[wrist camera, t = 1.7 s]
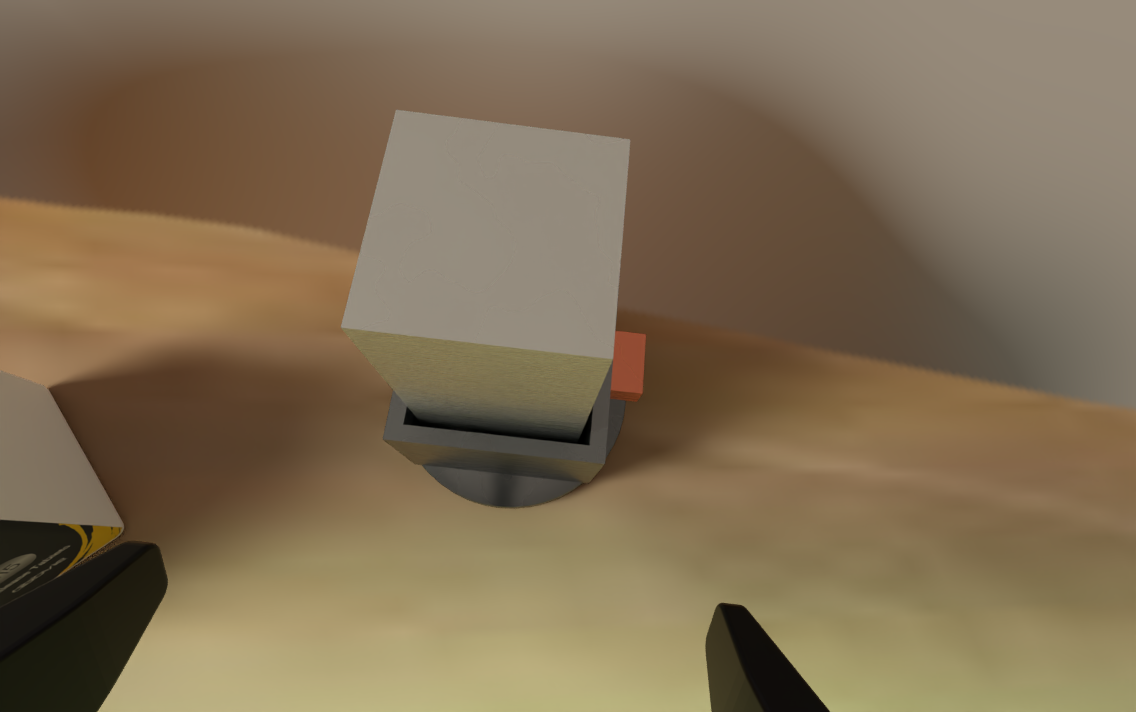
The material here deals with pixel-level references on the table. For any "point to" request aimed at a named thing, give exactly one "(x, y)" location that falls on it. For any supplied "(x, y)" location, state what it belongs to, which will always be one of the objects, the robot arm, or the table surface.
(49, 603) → the robot arm
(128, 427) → the table surface
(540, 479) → the base
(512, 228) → the column
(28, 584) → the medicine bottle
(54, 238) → the table surface
